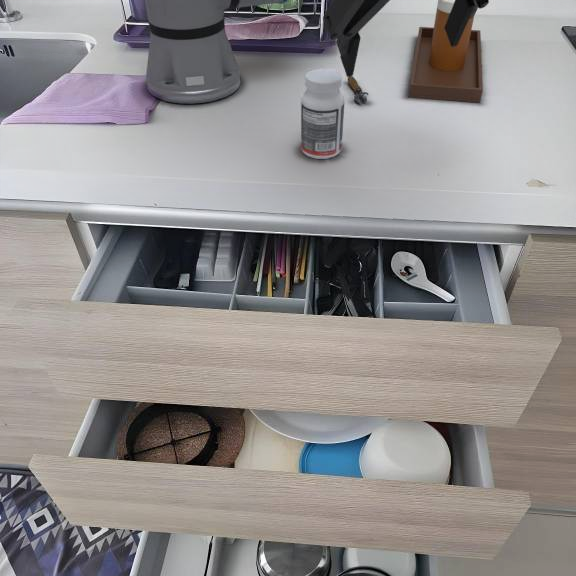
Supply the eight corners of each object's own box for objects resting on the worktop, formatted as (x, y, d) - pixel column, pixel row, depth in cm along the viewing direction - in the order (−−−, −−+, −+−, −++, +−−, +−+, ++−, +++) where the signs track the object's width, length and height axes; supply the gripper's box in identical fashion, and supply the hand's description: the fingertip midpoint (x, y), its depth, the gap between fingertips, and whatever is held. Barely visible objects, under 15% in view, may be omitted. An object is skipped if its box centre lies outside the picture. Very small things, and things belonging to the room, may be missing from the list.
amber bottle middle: (421, 60, 102) (432, -7, 94) (453, 56, 103) (466, -10, 96) (438, 73, 98) (451, 5, 90) (471, 68, 99) (485, 1, 92)
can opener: (346, 82, 97) (347, 75, 96) (360, 81, 97) (361, 74, 96) (356, 106, 91) (356, 98, 90) (370, 105, 91) (371, 97, 90)
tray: (417, 38, 110) (419, 26, 109) (477, 42, 109) (480, 30, 107) (408, 97, 93) (409, 84, 91) (479, 102, 91) (482, 89, 90)
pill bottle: (315, 137, 84) (318, 63, 76) (349, 148, 82) (354, 72, 74) (292, 152, 81) (292, 77, 73) (326, 164, 79) (330, 87, 71)
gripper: (326, -40, 49) (312, 106, 70) (598, -115, 51) (503, 51, 72) (300, -116, 50) (293, 51, 71) (568, -188, 51) (483, -3, 72)
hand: (398, 51), depth 71 cm, fingers open, 13 cm apart
